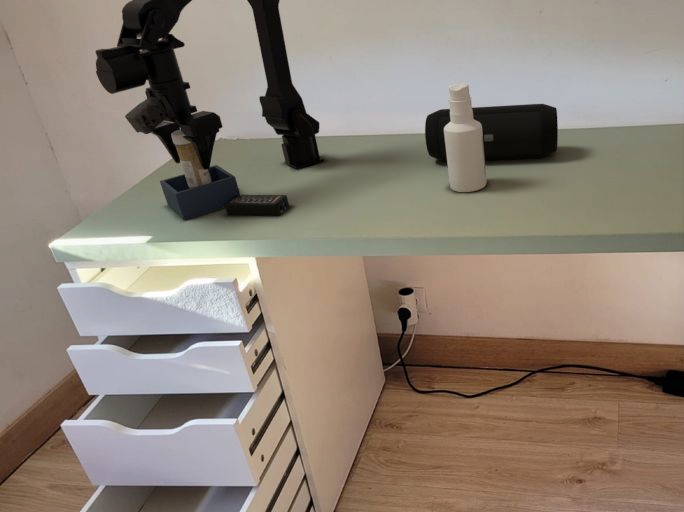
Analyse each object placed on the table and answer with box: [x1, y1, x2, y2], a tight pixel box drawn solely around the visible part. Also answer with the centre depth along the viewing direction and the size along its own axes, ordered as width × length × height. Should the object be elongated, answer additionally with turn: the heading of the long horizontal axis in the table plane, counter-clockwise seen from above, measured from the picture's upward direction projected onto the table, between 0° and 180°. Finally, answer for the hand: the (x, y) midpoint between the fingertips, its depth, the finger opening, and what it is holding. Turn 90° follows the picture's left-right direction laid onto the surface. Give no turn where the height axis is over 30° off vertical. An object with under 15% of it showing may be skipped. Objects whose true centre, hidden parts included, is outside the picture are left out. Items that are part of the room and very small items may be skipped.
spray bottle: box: [444, 82, 488, 193], centre depth 127 cm, size 7×7×18 cm
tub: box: [159, 164, 241, 221], centre depth 136 cm, size 11×10×5 cm
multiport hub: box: [224, 194, 290, 217], centre depth 131 cm, size 4×11×2 cm, turn 75°
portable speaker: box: [424, 103, 559, 162], centre depth 141 cm, size 26×10×10 cm, turn 81°
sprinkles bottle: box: [171, 129, 211, 188], centre depth 134 cm, size 5×5×14 cm
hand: (192, 165), depth 133 cm, fingers open, 9 cm apart
